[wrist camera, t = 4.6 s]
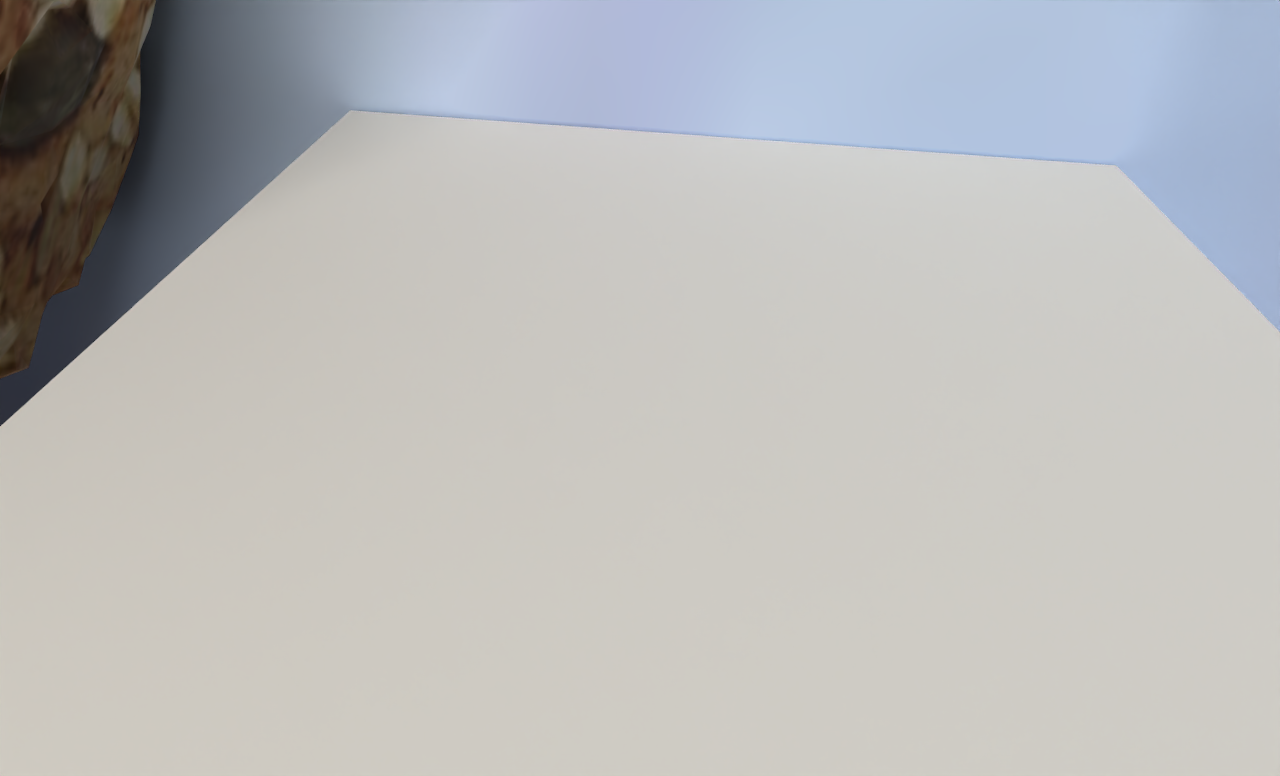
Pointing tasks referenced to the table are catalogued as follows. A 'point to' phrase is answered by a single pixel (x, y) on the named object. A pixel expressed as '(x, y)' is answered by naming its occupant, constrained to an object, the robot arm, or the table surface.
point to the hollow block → (654, 476)
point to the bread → (60, 146)
